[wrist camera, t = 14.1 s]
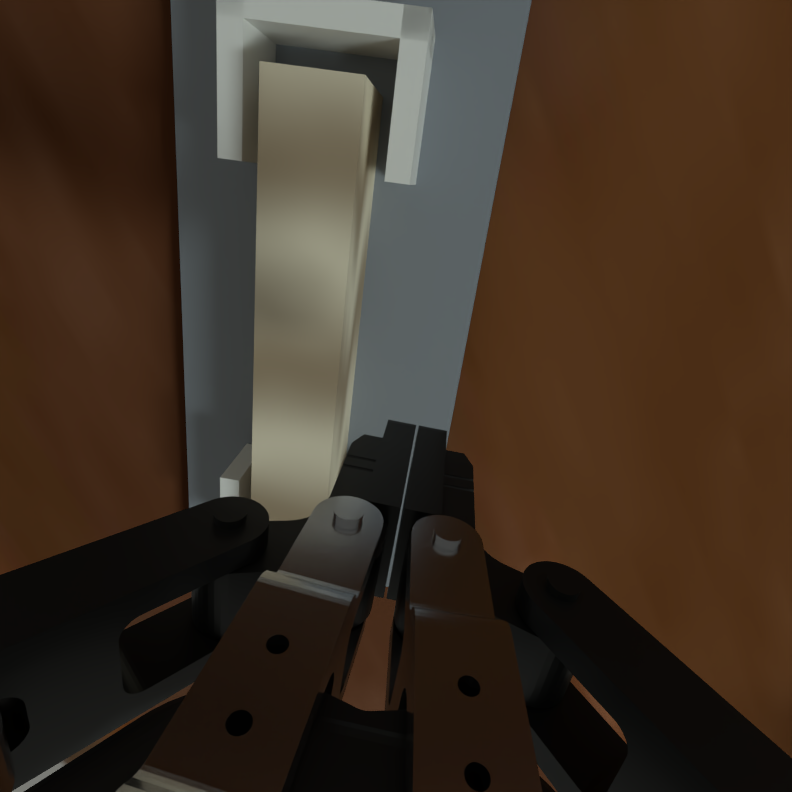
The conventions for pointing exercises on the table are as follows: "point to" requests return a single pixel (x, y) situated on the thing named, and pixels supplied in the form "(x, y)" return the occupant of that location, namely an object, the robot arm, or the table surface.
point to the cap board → (391, 206)
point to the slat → (308, 277)
